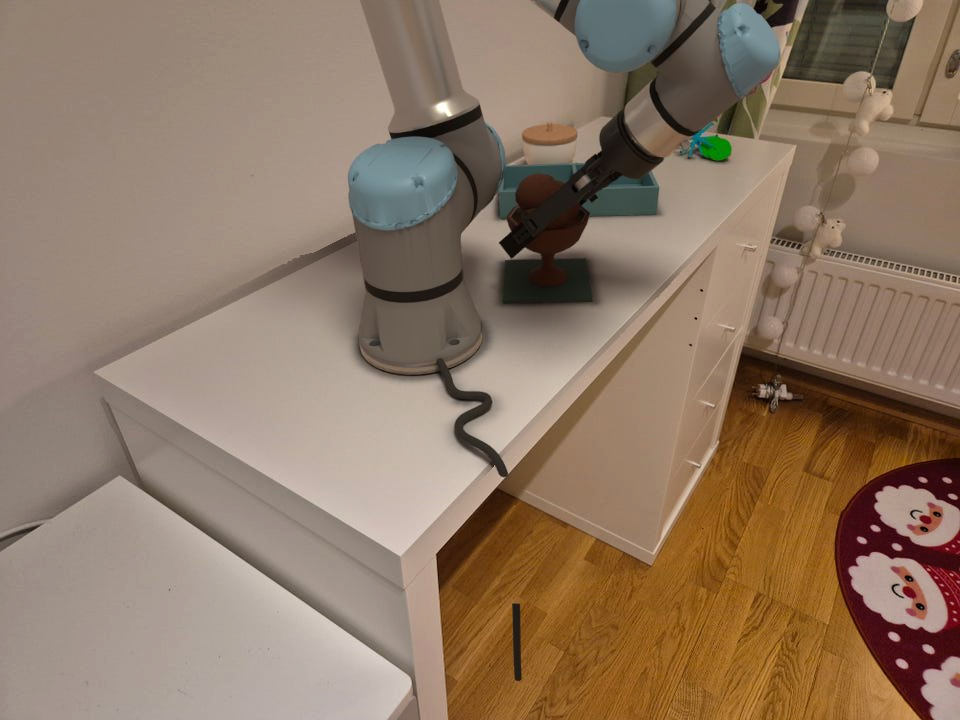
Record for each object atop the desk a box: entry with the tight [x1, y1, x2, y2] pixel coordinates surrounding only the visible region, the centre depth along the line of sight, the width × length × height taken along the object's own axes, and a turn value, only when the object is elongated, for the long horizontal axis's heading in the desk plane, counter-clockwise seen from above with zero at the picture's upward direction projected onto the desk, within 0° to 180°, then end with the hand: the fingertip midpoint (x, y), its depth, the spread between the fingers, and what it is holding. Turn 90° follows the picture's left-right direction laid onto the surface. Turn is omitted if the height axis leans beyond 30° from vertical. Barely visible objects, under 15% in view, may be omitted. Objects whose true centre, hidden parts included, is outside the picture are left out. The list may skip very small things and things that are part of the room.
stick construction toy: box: [679, 121, 733, 162], centre depth 134 cm, size 12×7×8 cm
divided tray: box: [498, 162, 660, 220], centre depth 116 cm, size 14×26×5 cm, turn 87°
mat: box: [502, 257, 594, 304], centre depth 93 cm, size 12×12×1 cm
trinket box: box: [521, 122, 578, 165], centre depth 129 cm, size 11×11×9 cm
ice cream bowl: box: [506, 173, 591, 287], centre depth 89 cm, size 11×11×15 cm
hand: (529, 233), depth 91 cm, fingers open, 11 cm apart
